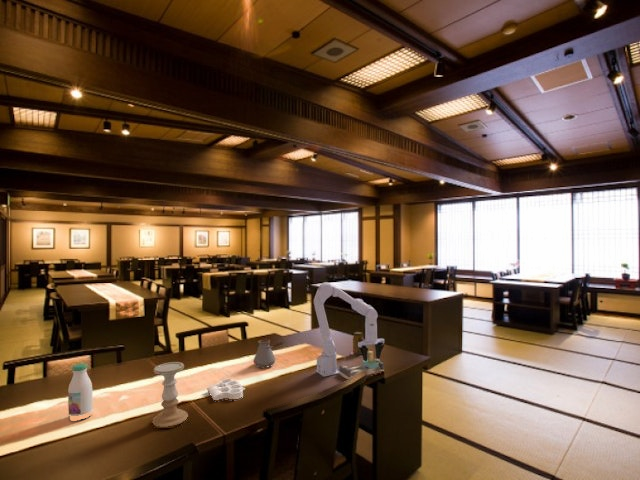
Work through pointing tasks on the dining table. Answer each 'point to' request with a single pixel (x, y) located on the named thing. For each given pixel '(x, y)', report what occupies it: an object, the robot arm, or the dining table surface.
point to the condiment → (356, 339)
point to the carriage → (370, 361)
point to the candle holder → (169, 396)
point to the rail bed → (359, 370)
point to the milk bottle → (80, 391)
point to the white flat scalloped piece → (226, 390)
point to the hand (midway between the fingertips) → (371, 359)
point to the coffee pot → (265, 354)
